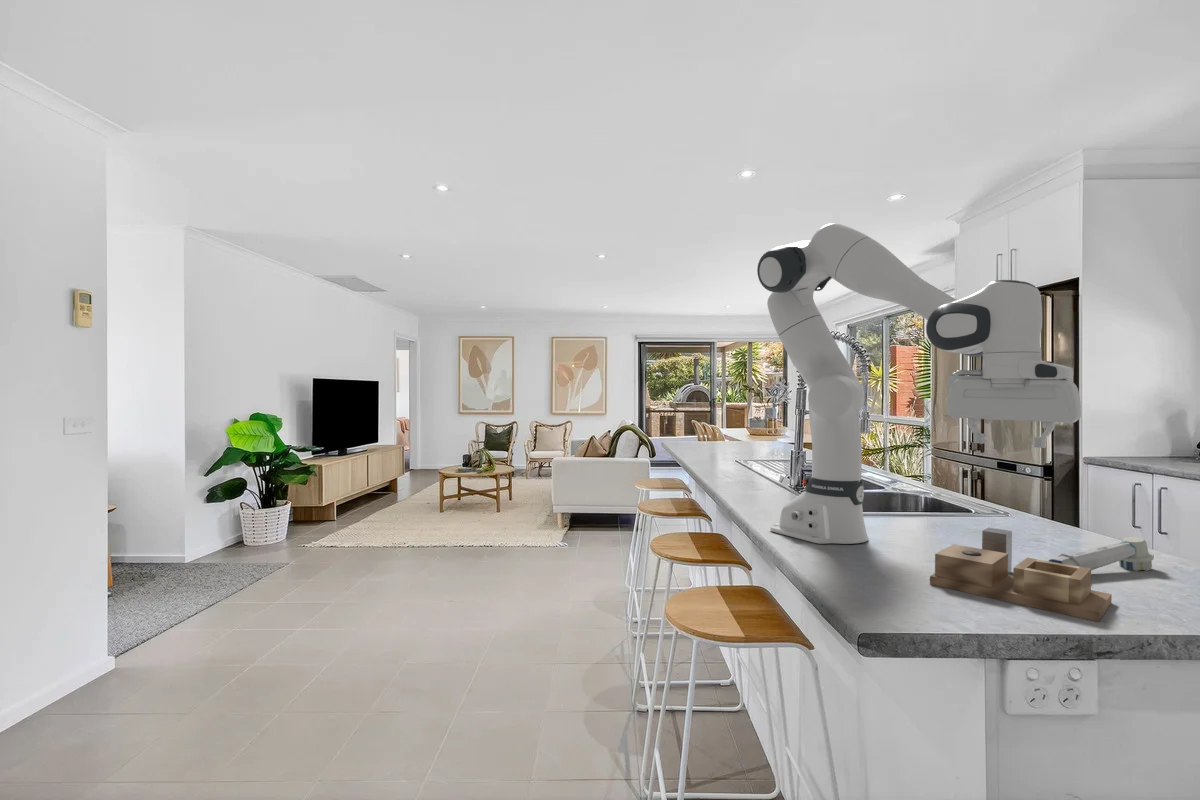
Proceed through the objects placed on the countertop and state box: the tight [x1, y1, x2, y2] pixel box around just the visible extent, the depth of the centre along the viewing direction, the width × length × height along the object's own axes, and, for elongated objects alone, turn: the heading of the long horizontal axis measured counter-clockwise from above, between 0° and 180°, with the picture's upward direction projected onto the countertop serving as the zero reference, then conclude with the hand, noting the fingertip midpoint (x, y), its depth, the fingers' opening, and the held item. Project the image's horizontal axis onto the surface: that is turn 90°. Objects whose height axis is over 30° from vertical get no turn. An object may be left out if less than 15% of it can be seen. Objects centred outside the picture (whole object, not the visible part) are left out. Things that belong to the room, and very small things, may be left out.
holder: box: [929, 543, 1113, 622], centre depth 105 cm, size 24×12×6 cm, turn 43°
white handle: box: [1048, 536, 1155, 572], centre depth 118 cm, size 5×7×25 cm
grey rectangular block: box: [981, 527, 1013, 574], centre depth 118 cm, size 4×4×8 cm
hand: (1008, 445), depth 110 cm, fingers open, 8 cm apart
